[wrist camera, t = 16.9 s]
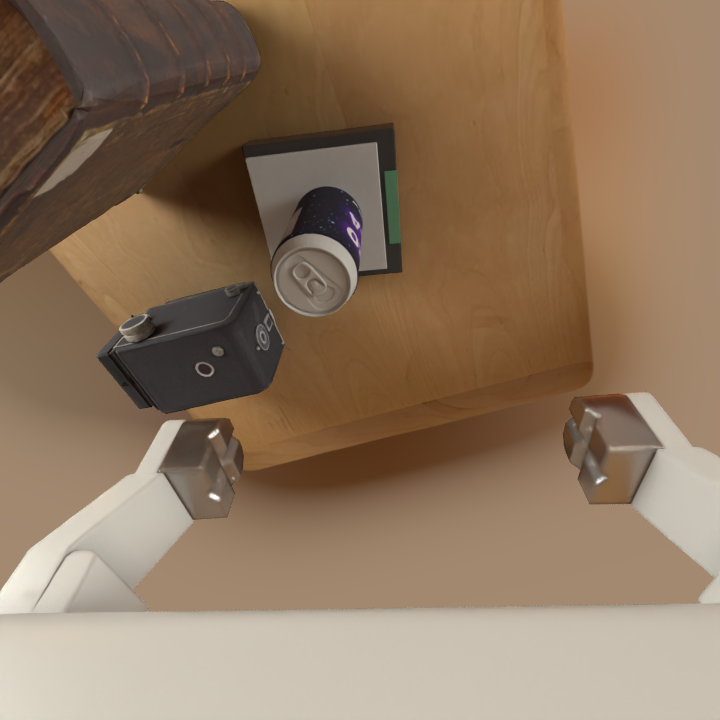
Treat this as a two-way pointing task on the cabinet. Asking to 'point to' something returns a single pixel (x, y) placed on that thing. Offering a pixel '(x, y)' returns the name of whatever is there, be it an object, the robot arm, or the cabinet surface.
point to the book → (103, 104)
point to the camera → (196, 350)
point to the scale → (332, 185)
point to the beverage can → (319, 253)
